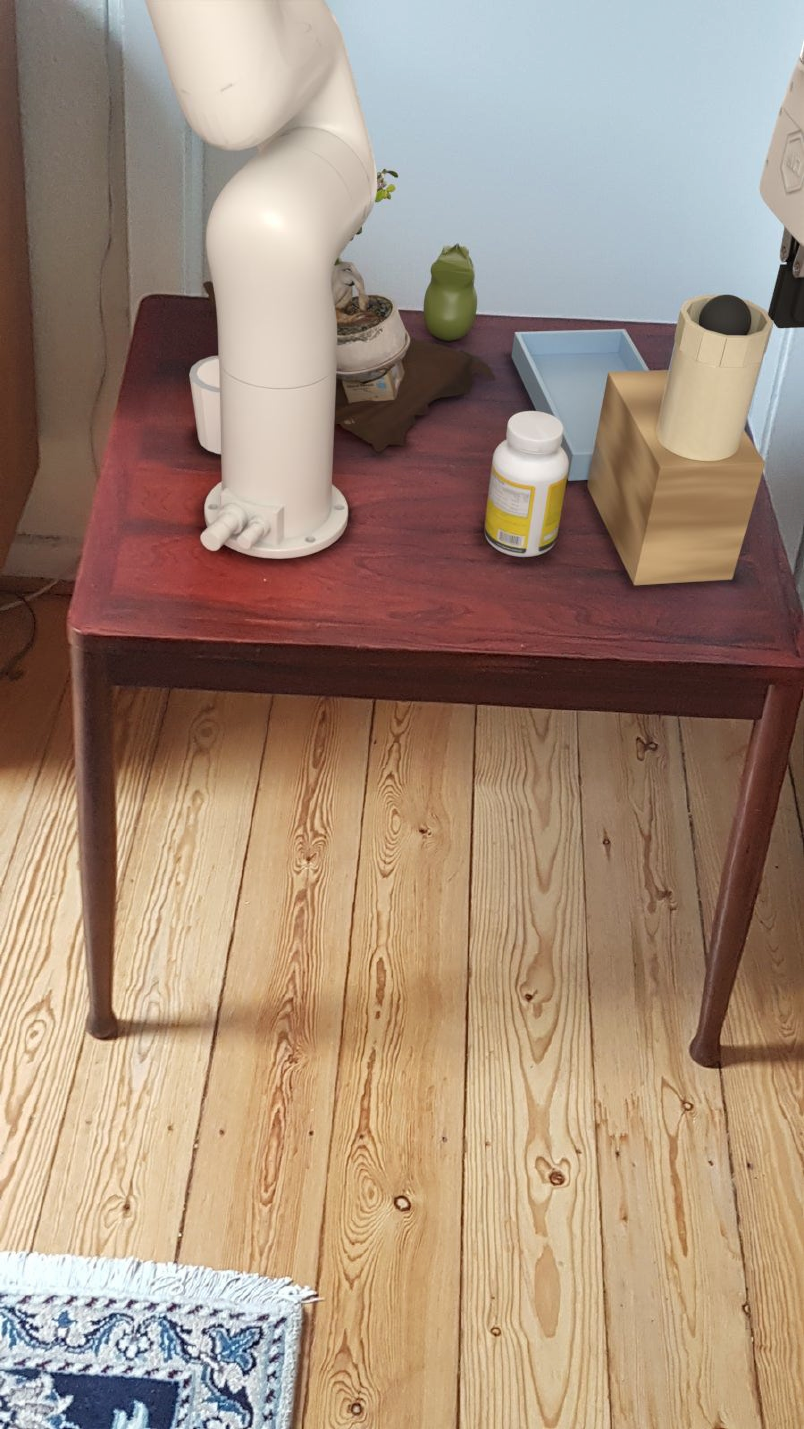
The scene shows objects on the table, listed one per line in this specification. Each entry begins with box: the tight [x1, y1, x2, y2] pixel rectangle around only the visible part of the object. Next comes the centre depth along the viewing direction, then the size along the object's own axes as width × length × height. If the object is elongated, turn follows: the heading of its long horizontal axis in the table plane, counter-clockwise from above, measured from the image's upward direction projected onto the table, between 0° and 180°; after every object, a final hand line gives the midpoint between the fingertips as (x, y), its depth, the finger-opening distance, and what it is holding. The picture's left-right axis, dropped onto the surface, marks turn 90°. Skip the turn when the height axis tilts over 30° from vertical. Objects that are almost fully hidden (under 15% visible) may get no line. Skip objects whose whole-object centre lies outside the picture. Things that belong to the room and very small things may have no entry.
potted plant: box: [202, 168, 496, 452], centre depth 138 cm, size 20×19×25 cm
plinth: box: [586, 369, 766, 586], centre depth 125 cm, size 15×9×12 cm, turn 10°
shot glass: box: [188, 355, 221, 455], centre depth 133 cm, size 7×7×7 cm
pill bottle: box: [483, 410, 569, 558], centre depth 123 cm, size 6×6×12 cm
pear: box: [422, 242, 478, 342], centre depth 149 cm, size 6×5×10 cm
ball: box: [699, 294, 751, 336], centre depth 111 cm, size 4×4×4 cm
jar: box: [655, 294, 774, 461], centre depth 115 cm, size 7×7×11 cm
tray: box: [510, 328, 650, 482], centre depth 142 cm, size 23×12×3 cm, turn 10°
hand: (792, 321), depth 101 cm, fingers closed
